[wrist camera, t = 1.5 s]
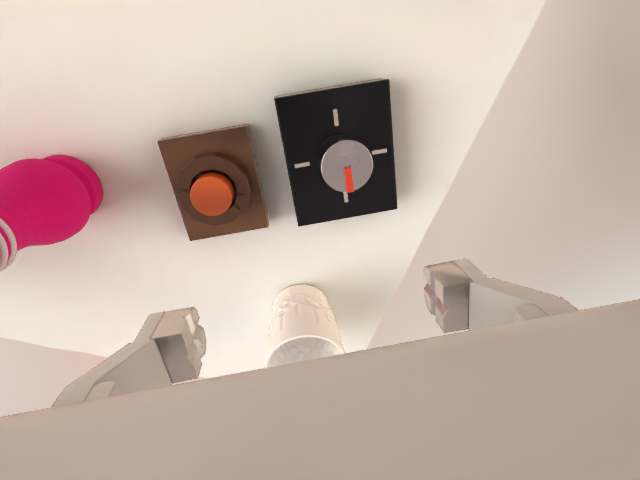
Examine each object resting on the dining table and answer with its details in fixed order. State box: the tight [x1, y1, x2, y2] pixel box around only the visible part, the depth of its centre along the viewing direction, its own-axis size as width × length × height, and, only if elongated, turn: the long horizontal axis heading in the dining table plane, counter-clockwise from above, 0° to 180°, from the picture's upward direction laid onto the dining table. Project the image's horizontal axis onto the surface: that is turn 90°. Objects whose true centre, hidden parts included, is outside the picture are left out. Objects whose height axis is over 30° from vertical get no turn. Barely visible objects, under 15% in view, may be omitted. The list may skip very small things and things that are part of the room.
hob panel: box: [274, 79, 397, 226], centre depth 36 cm, size 12×10×3 cm
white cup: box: [264, 284, 345, 368], centre depth 40 cm, size 8×8×10 cm
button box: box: [158, 124, 269, 241], centre depth 36 cm, size 10×8×4 cm
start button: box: [190, 172, 234, 216], centre depth 34 cm, size 4×4×2 cm
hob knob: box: [317, 134, 373, 193], centre depth 33 cm, size 4×4×4 cm
